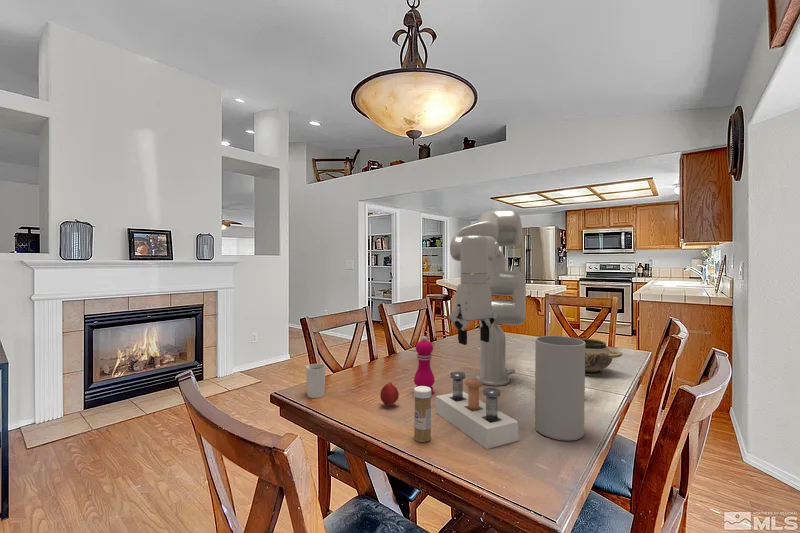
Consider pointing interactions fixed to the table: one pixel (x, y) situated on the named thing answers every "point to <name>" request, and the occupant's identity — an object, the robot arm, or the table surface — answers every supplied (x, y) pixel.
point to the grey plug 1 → (457, 385)
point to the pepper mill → (424, 364)
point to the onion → (389, 394)
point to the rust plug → (473, 394)
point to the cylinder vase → (560, 387)
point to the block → (477, 421)
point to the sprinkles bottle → (422, 414)
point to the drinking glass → (315, 380)
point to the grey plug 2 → (491, 404)
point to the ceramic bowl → (597, 356)
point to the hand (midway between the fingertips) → (473, 342)
